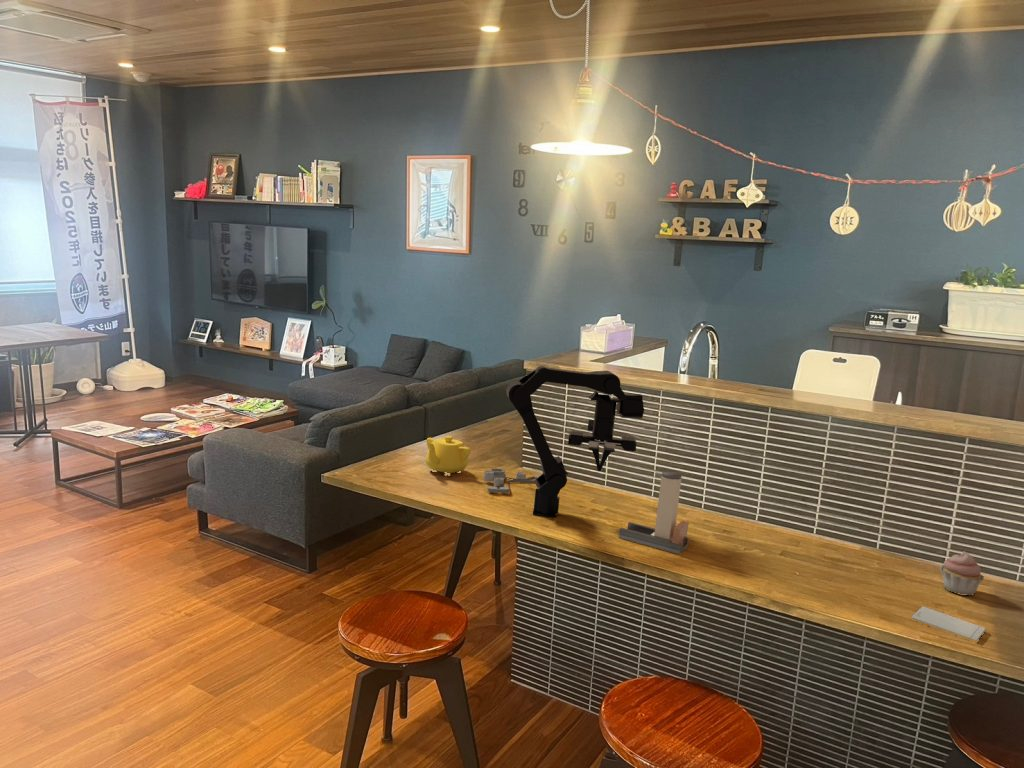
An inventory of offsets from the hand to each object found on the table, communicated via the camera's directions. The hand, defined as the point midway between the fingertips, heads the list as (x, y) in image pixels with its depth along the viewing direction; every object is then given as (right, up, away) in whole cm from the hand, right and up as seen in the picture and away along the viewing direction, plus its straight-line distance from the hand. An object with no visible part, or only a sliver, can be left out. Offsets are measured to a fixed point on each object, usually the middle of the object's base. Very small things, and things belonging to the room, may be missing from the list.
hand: (599, 470), depth 211 cm
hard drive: (+68, -28, -51) cm, 90 cm away
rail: (+12, -17, -16) cm, 26 cm away
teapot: (-47, -5, +31) cm, 57 cm away
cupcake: (+82, -25, -31) cm, 92 cm away
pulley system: (-26, -8, +26) cm, 37 cm away
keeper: (+15, -16, -17) cm, 28 cm away
